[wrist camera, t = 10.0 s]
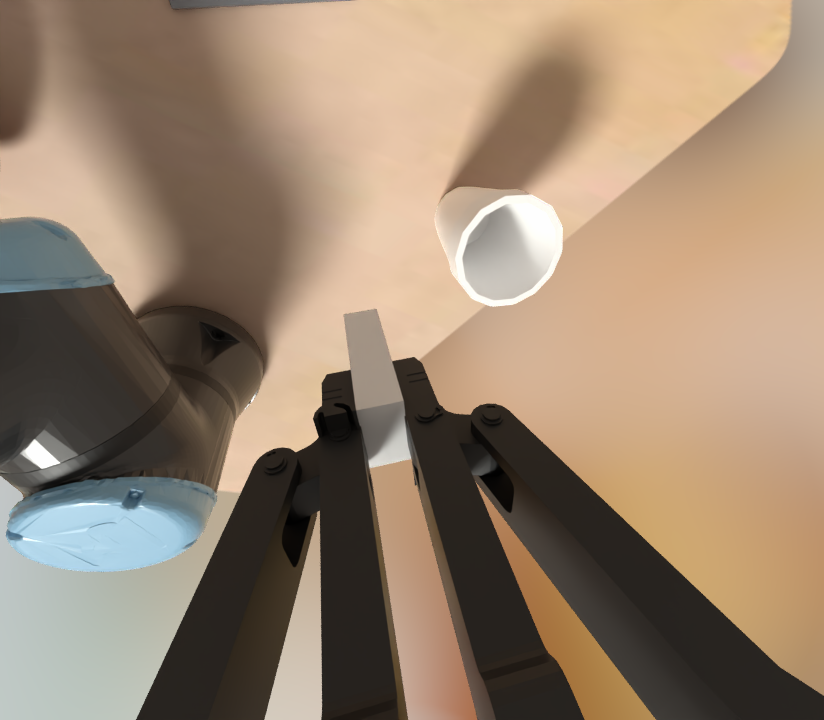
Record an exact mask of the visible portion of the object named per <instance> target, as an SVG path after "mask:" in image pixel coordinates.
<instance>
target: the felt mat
mask: <svg viewBox="0 0 824 720" xmlns="http://www.w3.org/2000/svg"><path fill="white" fill-rule="evenodd" d="M329 1H349V0H169V2H170V5H171V8H172V9H191V8H211V7H230V6H250V5H270V4H290V3H309V2H329Z"/></svg>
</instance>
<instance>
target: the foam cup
mask: <svg viewBox="0 0 824 720" xmlns="http://www.w3.org/2000/svg"><path fill="white" fill-rule="evenodd" d="M434 220H435V225H436V230H437V234H438V236H439V238H440V241H441V243H442V246H443V248H444V251H445V253H446V255H447V258H448V260H449V264H450V269H451V273H452V274H453V276H454V277H455V278H456V279H457V281H458V282H459V283H460V284H461V286H462V287H463V288H464V290H465V291H466V292H467V293H468V295H469V296H470V297H471V298H472V299H473V300H476V301H478V302H481V303H483V304H486V305H489V306H491V307H492V306H503V305H514V304H516V303H517V302H519V301H521V300H523V299H525V298H527V297H529V296H531V295H533V294H534V293H536V292H537V291H538V290H539V288H540V287H541V286H542V285H543V284H544V283H545V282H546V281H547V280H548V279H549V277H550V276H551V275H552V274H553V272H554V269H555V267H556V265H557V262H558V260H559V258H560V255H561V253H562V232H563V226H562V225H561V223H560V221H559V219H558V217H557V215H556V213H555V211H554V209H553V207H552V206H551V205H549V204H547V203H546V202H544V201H542V200H540V199H538V198H537V197H535V196H533V195H531V194H529V193H527V192H524V191H522V190H520V189H508V190H499V189H490V188H481V187H457V188H455V189H453V190H452V191H450V192H448V193H446V194H445V196H444V197H443V198H442V200H441V201H440V202H439V204H438V205H437V209H436V213H435V218H434Z"/></svg>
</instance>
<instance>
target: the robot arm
mask: <svg viewBox="0 0 824 720" xmlns="http://www.w3.org/2000/svg"><path fill="white" fill-rule="evenodd" d="M114 282H115V281H114V279H113V278H112V277H111V275H109V274H106V273H105V272H104V270H103V269H102V268H101V266H100V265H99V264H98V263H97V261H96V260H95V259H94V257H93V256H92V255H91V254H90V252H89V251H88V250H87V248H86V247H85V245H84V244H83V243H82V241H81V240H80V239H79V237H78V236H77V235H76V234H75V233H74V232H73V231H71V230H70V229H69V228H67V227H66V226H64V225H62V224H60V223H58V222H55V221H53V220H49V219H45V218H39V217H21V218H10V219H0V476H2V477H3V478H4V479H5V480H7V481H8V482H9V483H10V484H11V485H13V486H14V487H15V488H17V489H18V490H19V491H20V492H21V493H22V494H23V497H24V498H23V500H22V501H20V502H18V503H17V504H16V505H15V506H14V508H13V509H12V510H11V511H10V514H9V517H10V520H9V521H8V524H7V527H8V529H7V532H6V537H7V540H8V542H9V544H10V545H11V546H12V547H13V548H14V549H15V550H16V551H17V552H18V553H20V554H21V555H23V556H25V557H27V558H29V559H31V560H33V561H36V562H38V563H41V564H44V565H48V566H52V567H57V568H62V569H67V570H76V571H90V572H91V571H98V572H111V571H123V570H131V569H137V568H142V567H147V566H151V565H154V564H158V563H161V562H163V561H166V560H169V559H171V558H173V557H175V556H177V555H179V554H180V553H183V552H184V551H185V550H187V549H188V548H189V547H191V546H192V545H193V544H194V543H195V542H196V541H197V539H198V538H199V537H200V536H201V534H202V533H203V531H204V529H205V527H206V524H207V522H208V519H209V516H210V514H211V511H212V508H213V507H214V506H215V504H216V501H217V495H216V493H217V489H218V485H219V481H220V477H221V473H222V470H223V466H224V462H225V458H226V454H227V450H228V447H229V443H230V439H231V435H232V431H233V427H234V423H235V421H236V419H237V418H238V417H239V415H240V414H241V413H242V412H243V411H244V410H245V409H246V408H247V407H248V406H249V405H250V404H251V403H252V401H253V400H254V399H255V397H256V395H257V393H258V391H259V389H260V385H261V381H262V376H263V369H264V367H263V359H262V355H261V352H260V350H259V348H258V346H257V344H256V343H255V341H254V340H253V338H252V337H251V336H250V335H249V334H248V333H247V332H246V331H245V330H244V329H243V328H242V327H241V326H239V325H238V324H237V323H235V322H234V321H232V320H230V319H229V318H227V317H225V316H223V315H220V314H218V313H215V312H213V311H209V310H206V309H202V308H196V307H187V306H175V307H166V308H161V309H157V310H154V311H152V312H149V313H147V314H145V315H143V316H142V317H140V318H138V319H136V317H135V316H134V314H133V313H132V311H131V310H130V308H129V307H128V305H127V304H126V302H125V301H124V299H123V298H122V296H121V294H120V293H119V291H118V290H117V288H116V287H115V285H114V284H113V283H114ZM344 321H345V329H346V336H347V344H348V352H349V360H350V367H351V370H348V371H342V372H337V373H332V374H327V375H326V377H325V379H324V380H323V382H322V406H321V407H320V408H319V409H318V410H317V411H316V412H315V414H314V418H313V420H314V423H315V426H316V429H317V433H318V436H319V438H318V439H317V440H316V441H315V442H314V443H312V444H311V445H310V446H308V447H306V448H304V449H302V450H300V451H298V452H296V453H295V452H294V451H293V450H291V449H289V448H277V449H273V450H271V451H269V452H266V453H265V454H264V455H262V456H261V457H260V458H259V459H258V460H257V461H256V463H255V464H254V466H253V468H252V470H251V473H250V475H249V477H248V479H247V481H246V483H245V486H244V488H243V490H242V492H241V494H240V496H239V499H238V501H237V503H236V505H235V507H234V509H233V511H232V514H231V516H230V518H229V521H228V523H227V524H226V527H225V529H224V531H223V533H222V536H221V537H220V540H219V542H218V544H217V546H216V548H215V550H214V553H213V555H212V557H211V559H210V561H209V563H208V566H207V568H206V570H205V572H204V574H203V577H202V579H201V581H200V583H199V585H198V587H197V589H196V592H195V594H194V596H193V598H192V600H191V602H190V605H189V607H188V609H187V611H186V613H185V615H184V617H183V620H182V622H181V624H180V626H179V628H178V630H177V633H176V635H175V637H174V639H173V641H172V643H171V645H170V648H169V650H168V652H167V654H166V656H165V659H164V661H163V663H162V665H161V667H160V669H159V671H158V674H157V676H156V678H155V680H154V683H153V685H152V687H151V689H150V691H149V693H148V695H147V697H146V699H145V702H144V704H143V706H142V708H141V710H140V713H139V715H138V717H137V719H136V720H264V719H265V715H266V711H267V707H268V703H269V699H270V695H271V691H272V687H273V684H274V680H275V676H276V672H277V668H278V664H279V660H280V656H281V653H282V649H283V645H284V641H285V637H286V633H287V629H288V625H289V622H290V618H291V614H292V610H293V606H294V602H295V598H296V594H297V591H298V587H299V583H300V579H301V575H302V571H303V568H304V564H305V560H306V556H307V552H308V548H309V544H310V540H311V536H312V533H313V529H314V525H315V521H316V517H317V512H318V511H320V548H321V549H320V552H321V630H322V631H321V633H322V634H321V637H322V638H321V639H322V719H321V720H408V716H407V709H406V702H405V696H404V689H403V683H402V676H401V669H400V663H399V656H398V650H397V643H396V636H395V630H394V624H393V616H392V610H391V603H390V596H389V590H388V583H387V578H386V570H385V564H384V557H383V550H382V543H381V537H380V530H379V525H378V517H377V510H376V504H375V497H374V491H373V484H372V479H371V474H370V469H369V468H372V467H377V466H381V465H386V464H390V463H395V462H399V461H404V460H408V459H412V464H413V472H414V480H415V485H417V487H418V491H419V495H420V499H421V503H422V506H423V510H424V514H425V518H426V522H427V525H428V530H429V533H430V537H431V541H432V545H433V548H434V552H435V556H436V560H437V564H438V568H439V572H440V576H441V579H442V583H443V587H444V591H445V595H446V598H447V603H448V606H449V610H450V614H451V618H452V622H453V625H454V629H455V633H456V637H457V641H458V645H459V649H460V652H461V656H462V660H463V664H464V667H465V672H466V675H467V679H468V683H469V687H470V691H471V695H472V698H473V702H474V706H475V710H476V715H477V719H478V720H584V718H583V715H582V713H581V710H580V708H579V706H578V703H577V701H576V699H575V697H574V694H573V692H572V690H571V688H570V685H569V683H568V681H567V679H566V677H565V675H564V673H563V671H562V669H561V667H560V666H559V664H558V663H557V661H556V660H555V659H554V658H553V657H552V656H551V655H550V654H549V653H548V652H547V650H546V648H545V647H544V644H543V642H542V640H541V638H540V635H539V633H538V631H537V628H536V626H535V623H534V621H533V619H532V616H531V614H530V612H529V609H528V607H527V605H526V602H525V600H524V597H523V595H522V592H521V590H520V588H519V585H518V583H517V581H516V578H515V576H514V573H513V571H512V568H511V566H510V564H509V561H508V559H507V557H506V554H505V552H504V549H503V547H502V544H501V542H500V540H499V537H498V535H497V532H496V530H495V528H494V525H493V523H492V521H491V518H490V516H489V513H488V511H487V508H486V506H485V504H484V501H483V499H482V497H481V495H480V492H479V490H478V487H477V485H476V483H477V484H478V485H479V486H480V488H481V489H482V491H483V492H484V493H485V495H486V496H487V497H488V498H489V500H490V501H491V502H492V504H493V505H494V506H495V508H496V509H497V510H498V512H499V513H500V514H501V516H502V517H503V518H504V520H505V521H506V522H507V524H508V525H509V526H510V527H511V529H512V530H513V531H514V533H515V534H516V535H517V537H518V538H519V539H520V541H521V542H522V543H523V545H524V546H525V547H526V548H527V550H528V551H529V552H530V554H531V555H532V557H533V558H534V559H535V560H536V562H537V563H538V564H539V566H540V567H541V568H542V570H543V571H544V572H545V574H546V575H547V576H548V578H549V579H550V580H551V582H552V583H553V584H554V586H555V587H556V588H557V589H558V591H559V592H560V593H561V595H562V596H563V597H564V599H565V600H566V601H567V603H568V604H569V605H570V607H571V608H572V609H573V611H574V612H575V613H576V614H577V616H578V617H579V619H580V620H581V621H582V622H583V624H584V625H585V626H586V628H587V629H588V630H589V632H590V633H591V634H592V636H593V637H594V638H595V639H596V641H597V642H598V644H599V645H600V646H601V648H602V649H603V650H604V652H605V653H606V654H607V655H608V657H609V658H610V659H611V661H612V662H613V663H614V665H615V666H616V667H617V669H618V670H619V671H620V673H621V674H622V675H623V677H624V678H625V679H626V680H627V682H628V683H629V685H631V687H632V688H633V690H634V691H635V692H636V694H637V695H638V696H639V698H640V699H641V700H642V702H643V703H644V704H645V706H646V707H647V708H648V710H649V711H650V712H651V714H652V715H653V716H654V717H655V719H656V720H824V696H823V695H822V694H820V693H818V692H817V691H815V690H814V689H812V688H811V687H809V686H808V685H806V684H805V683H803V682H802V681H800V680H799V679H797V678H795V677H794V676H792V675H791V674H789V673H788V672H786V671H785V670H783V669H781V668H780V667H779V666H778V665H777V664H776V663H775V662H773V661H772V660H771V659H770V658H769V657H768V656H767V655H766V654H765V653H764V652H763V651H762V650H761V649H760V648H759V647H758V646H757V645H756V644H755V643H753V642H752V641H751V640H750V639H749V638H748V637H747V636H746V635H745V634H744V633H743V632H742V631H741V630H740V629H739V628H738V627H736V625H735V624H733V623H732V622H731V621H730V620H729V619H728V618H727V617H726V616H725V615H724V614H723V613H722V612H721V611H720V610H719V609H718V608H716V606H714V605H713V604H712V603H711V602H710V601H709V600H708V599H707V598H706V597H705V596H704V595H703V594H702V593H701V592H700V591H699V590H698V589H696V588H695V587H694V586H693V585H692V584H691V583H690V582H689V581H688V580H687V579H686V578H685V577H684V576H683V575H682V574H681V573H680V572H679V571H677V570H676V569H675V568H674V567H673V566H672V565H671V564H670V563H669V562H668V561H667V560H666V559H665V558H664V557H663V556H662V555H661V554H660V553H659V552H658V551H656V550H655V549H654V548H653V547H652V546H651V545H650V544H649V543H648V542H647V541H646V540H645V539H644V538H643V537H642V536H641V535H639V533H638V532H636V531H635V530H634V529H633V528H632V527H631V526H630V525H629V524H628V523H627V522H626V521H625V520H624V519H623V518H622V517H621V516H620V515H619V514H617V513H616V512H615V511H614V510H613V509H612V508H611V507H610V506H609V505H608V504H607V503H606V502H605V501H604V500H603V499H602V498H601V497H600V496H598V495H597V494H596V493H595V492H594V491H593V490H592V489H591V488H590V487H589V486H588V485H587V484H586V483H585V482H584V481H583V480H582V479H581V478H580V477H578V476H577V475H576V474H575V473H574V472H573V471H572V470H571V469H570V468H569V467H568V466H567V465H566V464H565V463H564V462H563V461H562V460H561V459H560V458H558V457H557V456H556V455H555V454H554V453H553V452H552V451H551V450H550V449H549V448H548V447H547V446H546V445H545V444H543V442H541V440H539V439H538V438H537V437H536V436H535V435H534V434H533V433H532V432H531V431H530V430H529V429H528V428H527V427H526V426H525V425H524V424H523V423H521V422H520V421H519V420H518V419H517V418H516V417H515V416H514V415H513V414H512V413H511V412H510V411H509V410H507V409H506V408H505V407H503V406H500V405H497V404H484V405H480V406H478V407H476V408H475V409H474V410H473V412H472V413H471V415H463V414H454V413H451V412H448V411H446V410H445V409H444V408H443V407H442V406H441V405H439V403H438V401H437V399H436V396H435V394H434V391H433V389H432V386H431V384H430V382H429V380H428V377H427V374H426V373H425V369H424V367H423V364H422V363H421V362H420V361H418V360H417V359H416V358H415V357H412V358H407V359H402V360H396V361H392V360H391V356H390V353H389V349H388V346H387V343H386V339H385V336H384V332H383V329H382V326H381V322H380V319H379V315H378V312H377V309H373V310H367V311H361V312H355V313H349V314H344ZM475 481H476V482H475Z"/></svg>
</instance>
